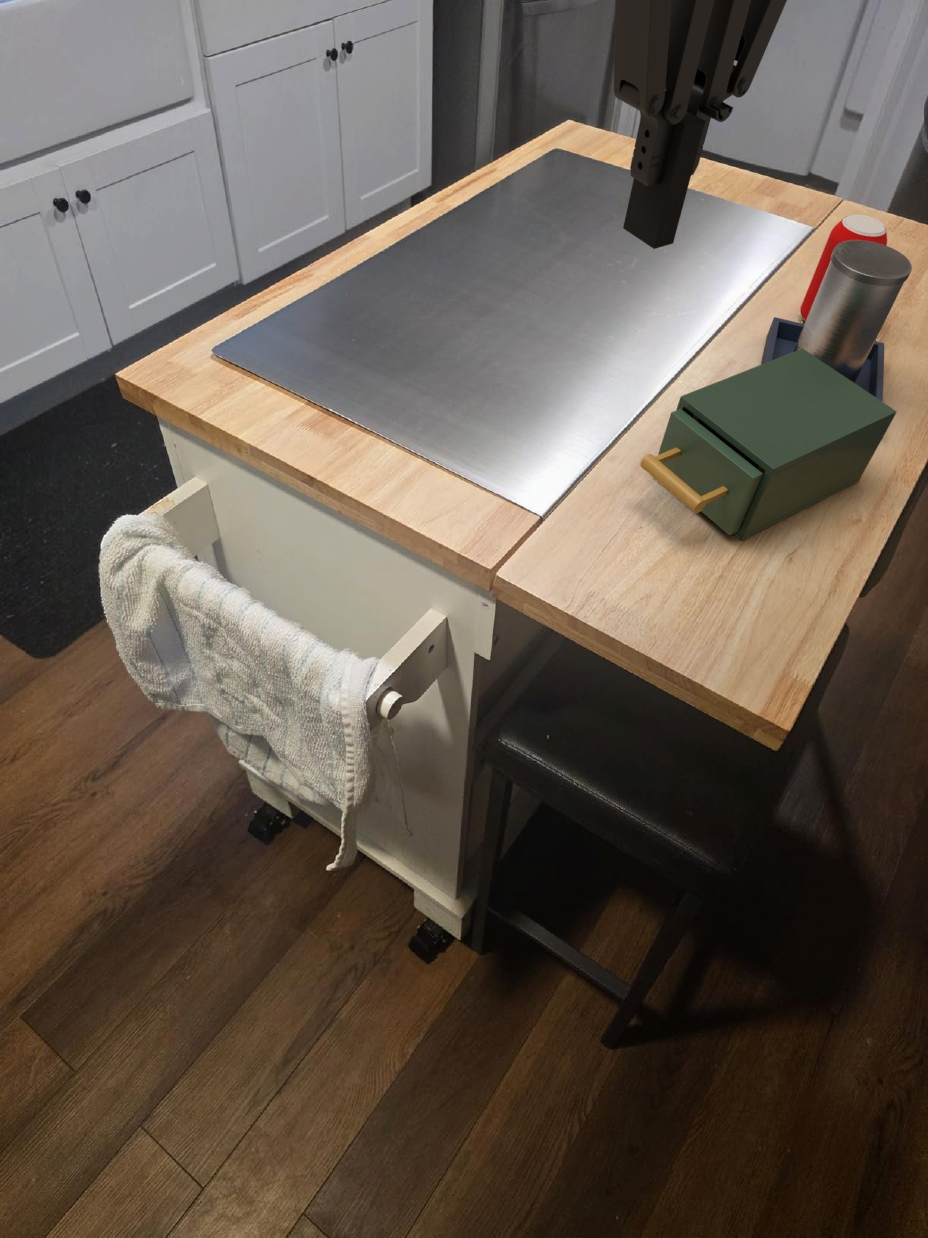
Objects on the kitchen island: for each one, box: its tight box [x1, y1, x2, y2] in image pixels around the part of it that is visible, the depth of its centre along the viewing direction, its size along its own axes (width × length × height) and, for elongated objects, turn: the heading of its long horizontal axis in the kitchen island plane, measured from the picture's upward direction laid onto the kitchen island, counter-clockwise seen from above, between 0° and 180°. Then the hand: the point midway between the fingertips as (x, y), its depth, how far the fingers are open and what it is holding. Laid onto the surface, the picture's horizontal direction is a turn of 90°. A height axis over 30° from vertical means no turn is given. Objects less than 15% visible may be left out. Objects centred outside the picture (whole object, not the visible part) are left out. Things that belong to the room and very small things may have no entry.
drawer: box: [639, 409, 765, 536], centre depth 80 cm, size 20×10×7 cm, turn 124°
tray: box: [760, 316, 885, 403], centre depth 95 cm, size 15×12×3 cm
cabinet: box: [675, 349, 897, 541], centre depth 82 cm, size 16×11×8 cm
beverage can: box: [799, 214, 888, 322], centre depth 100 cm, size 6×6×12 cm
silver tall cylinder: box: [793, 240, 913, 383], centre depth 90 cm, size 8×8×14 cm
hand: (647, 235), depth 50 cm, fingers closed
